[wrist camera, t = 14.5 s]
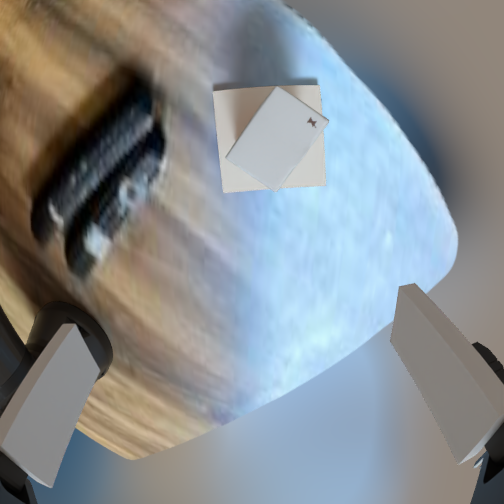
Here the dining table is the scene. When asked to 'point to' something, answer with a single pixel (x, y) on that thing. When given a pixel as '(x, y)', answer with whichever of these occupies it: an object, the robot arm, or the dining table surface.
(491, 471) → the robot arm
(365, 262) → the dining table surface
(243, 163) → the skincare box
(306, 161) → the coaster
